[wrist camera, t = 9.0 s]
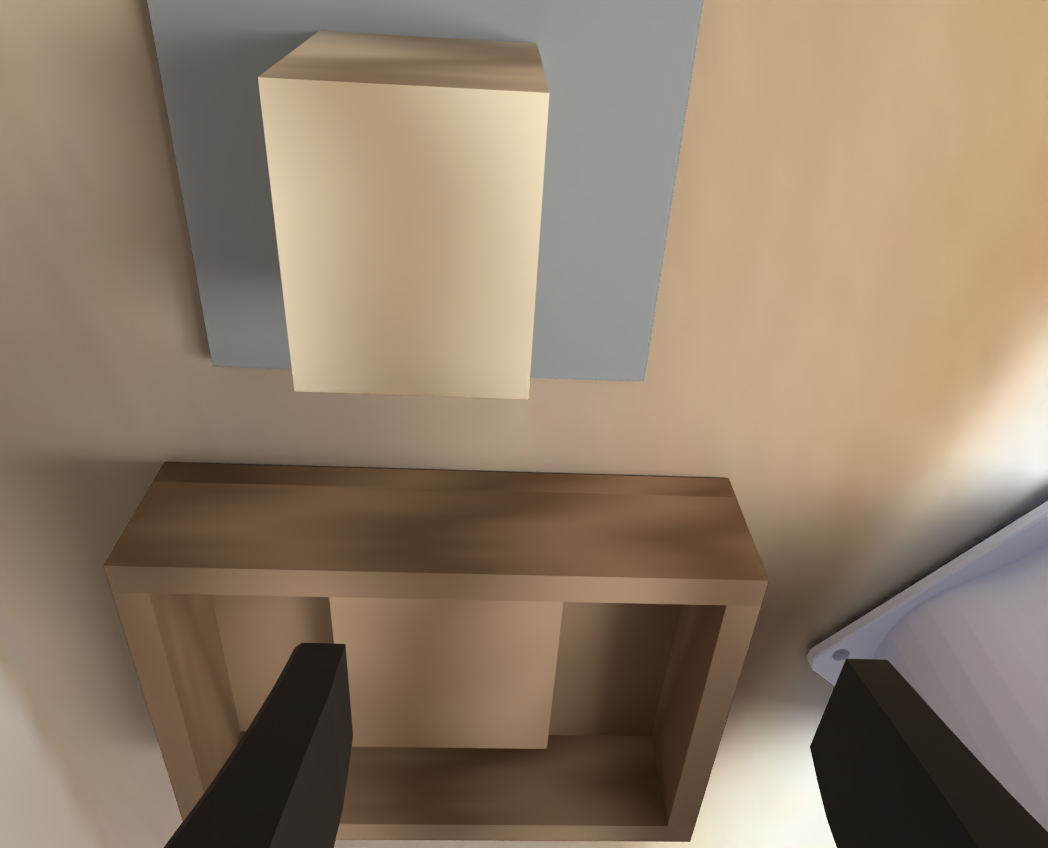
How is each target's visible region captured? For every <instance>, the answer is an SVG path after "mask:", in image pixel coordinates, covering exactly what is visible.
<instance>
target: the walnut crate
mask: <svg viewBox="0 0 1048 848" xmlns="http://www.w3.org/2000/svg"><path fill="white" fill-rule="evenodd" d="M104 569H105V572H106V576H107V579H108V582H109V585H110V588H111V592H112V595H113V598H114V601H115V605H116V608H117V611H118V614H119V617H120V621H121V624H122V627H123V630H124V633H125V637H126V640H127V643H128V646H129V650H130V653H131V656H132V659H133V662H134V666H135V669H136V672H137V675H138V678H139V682H140V685H141V688H142V691H143V695H144V698H145V701H146V704H147V707H148V711H149V714H150V717H151V720H152V723H153V727H154V730H155V733H156V736H157V740H158V743H159V746H160V749H161V752H162V756H163V759H164V762H165V765H166V768H167V772H168V775H169V778H170V781H171V785H172V788H173V791H174V794H175V797H176V801H177V804H178V807H179V810H180V813H181V817H182V820H183V821H184V820H185V818H186V817H187V816H188V814H189V813H190V812H191V810H192V809H193V808H194V806H195V805H196V804H197V802H198V801H199V800H200V798H201V797H202V795H203V794H204V793H205V791H206V790H207V789H208V787H209V786H210V784H211V783H212V781H213V780H214V779H215V777H216V776H217V774H218V773H219V771H220V770H221V768H222V767H223V765H224V764H225V762H226V761H227V759H228V758H229V756H230V755H231V753H232V752H233V750H234V749H235V747H236V746H237V744H238V743H239V741H240V740H241V738H242V737H243V735H244V734H245V732H246V731H247V729H248V728H249V726H250V724H251V723H252V721H253V720H254V718H255V716H256V715H257V713H258V712H259V710H260V708H261V707H262V705H263V703H264V702H265V700H266V698H267V697H268V695H269V693H270V692H271V690H272V688H273V687H274V685H275V683H276V681H277V680H278V678H279V676H280V674H281V672H282V671H283V669H284V667H285V665H286V663H287V661H288V660H289V658H290V656H291V654H292V652H293V650H294V648H295V647H297V646H298V645H299V644H301V643H334V644H346V656H347V668H348V680H349V692H350V704H351V717H352V729H353V740H352V748H351V755H350V762H349V770H348V777H347V784H346V791H345V798H344V804H343V811H342V815H341V819H340V823H339V827H338V832H337V836H336V840H498V841H671V842H690V840H691V837H692V834H693V830H694V827H695V824H696V820H697V817H698V814H699V811H700V807H701V804H702V801H703V797H704V794H705V791H706V787H707V784H708V781H709V777H710V774H711V771H712V767H713V764H714V761H715V757H716V754H717V751H718V747H719V744H720V741H721V737H722V734H723V731H724V727H725V724H726V721H727V717H728V714H729V711H730V707H731V704H732V701H733V697H734V694H735V691H736V687H737V684H738V681H739V678H740V674H741V671H742V668H743V664H744V661H745V658H746V654H747V651H748V648H749V644H750V641H751V638H752V634H753V631H754V628H755V624H756V621H757V618H758V614H759V611H760V608H761V604H762V601H763V598H764V594H765V591H766V588H767V584H768V581H769V580H768V578H767V575H766V573H765V570H764V568H763V565H762V562H761V560H760V557H759V555H758V552H757V550H756V547H755V545H754V542H753V539H752V537H751V534H750V532H749V529H748V527H747V524H746V522H745V519H744V516H743V514H742V511H741V509H740V506H739V504H738V501H737V499H736V496H735V493H734V491H733V488H732V486H731V483H730V481H729V479H728V478H693V477H658V476H623V475H589V474H554V473H519V472H484V471H449V470H415V469H380V468H345V467H310V466H276V465H241V464H206V463H171V462H164V464H163V466H162V468H161V469H160V471H159V473H158V474H157V476H156V478H155V479H154V481H153V483H152V484H151V486H150V488H149V490H148V491H147V493H146V495H145V496H144V498H143V500H142V501H141V503H140V505H139V506H138V508H137V510H136V512H135V513H134V515H133V517H132V518H131V520H130V522H129V523H128V525H127V527H126V528H125V530H124V532H123V534H122V535H121V537H120V539H119V540H118V542H117V544H116V545H115V547H114V549H113V550H112V552H111V554H110V556H109V557H108V559H107V561H106V562H105V564H104Z"/></svg>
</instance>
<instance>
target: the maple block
mask: <svg viewBox="0 0 1048 848" xmlns="http://www.w3.org/2000/svg"><path fill="white" fill-rule="evenodd" d="M258 83H259V92H260V100H261V109H262V117H263V126H264V135H265V143H266V152H267V160H268V169H269V178H270V186H271V195H272V203H273V212H274V220H275V229H276V238H277V246H278V255H279V263H280V272H281V281H282V289H283V298H284V306H285V315H286V324H287V332H288V341H289V349H290V358H291V367H292V375H293V384H294V391H303V392H332V393H361V394H390V395H419V396H448V397H478V398H507V399H529V385H530V371H531V356H532V341H533V327H534V312H535V298H536V283H537V269H538V254H539V239H540V225H541V210H542V196H543V181H544V166H545V152H546V137H547V123H548V108H549V89H548V85H547V81H546V77H545V73H544V69H543V65H542V61H541V57H540V53H539V49H538V45H537V43H524V42H507V41H489V40H472V39H454V38H437V37H419V36H401V35H384V34H366V33H349V32H331V31H319V32H317V33H316V34H315V35H313V36H312V37H311V38H309V39H308V40H307V41H305V42H304V43H303V44H301V45H300V46H299V47H297V48H296V49H295V50H293V51H292V52H291V53H289V54H288V55H287V56H285V57H284V58H283V59H281V60H280V61H279V62H277V63H276V64H275V65H273V66H272V67H271V68H269V69H268V70H267V71H265V72H264V73H263V74H261V75H260V76H259V77H258Z"/></svg>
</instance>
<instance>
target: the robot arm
mask: <svg viewBox="0 0 1048 848" xmlns="http://www.w3.org/2000/svg"><path fill="white" fill-rule="evenodd" d="M807 659H808V662H809V664H810V667H811V668H812V669H813V670H814V671H815V672H816V673H818V674H819V675H820V676H822V677H823V678H824V679H826V680H827V681H828V682H830V683H831V684H832V685H834V686H835V687H834V689H833V692H832V694H831V697H830V699H829V702H828V704H827V706H826V709H825V711H824V714H823V716H822V719H821V721H820V724H819V726H818V728H817V731H816V733H815V736H814V738H813V741H812V743H811V746H810V749H811V753H812V758H813V762H814V767H815V771H816V776H817V780H818V785H819V789H820V793H821V797H822V801H823V805H824V809H825V813H826V817H827V820H828V823H829V826H830V829H831V832H832V835H833V838H834V840H835V843H836V846H837V848H1048V501H1046V502H1045V503H1043V504H1041V505H1040V506H1038V507H1037V508H1035V509H1033V510H1032V511H1030V512H1029V513H1027V514H1025V515H1024V516H1022V517H1021V518H1019V519H1017V520H1016V521H1014V522H1013V523H1011V524H1009V525H1008V526H1006V527H1005V528H1003V529H1001V530H1000V531H998V532H997V533H995V534H993V535H992V536H990V537H989V538H987V539H985V540H984V541H982V542H981V543H979V544H977V545H976V546H974V547H973V548H971V549H969V550H968V551H966V552H965V553H963V554H961V555H960V556H958V557H957V558H955V559H953V560H952V561H950V562H949V563H947V564H945V565H944V566H942V567H941V568H939V569H937V570H936V571H934V572H933V573H931V574H929V575H928V576H926V577H925V578H923V579H921V580H920V581H918V582H917V583H915V584H913V585H912V586H910V587H909V588H907V589H905V590H904V591H902V592H901V593H899V594H897V595H896V596H894V597H893V598H891V599H889V600H888V601H886V602H885V603H883V604H881V605H880V606H878V607H877V608H875V609H873V610H872V611H870V612H869V613H867V614H865V615H864V616H862V617H861V618H859V619H857V620H856V621H854V622H853V623H851V624H849V625H848V626H846V627H845V628H843V629H841V630H840V631H838V632H837V633H835V634H833V635H832V636H830V637H829V638H827V639H825V640H824V641H822V642H821V643H819V644H817V645H816V646H814V647H813V648H812V649H811V650H810V651H809V653H808V655H807ZM352 740H353V729H352V717H351V704H350V692H349V680H348V668H347V656H346V644H334V643H301V644H299V645H298V646H297V647H295V648H294V650H293V652H292V654H291V656H290V658H289V660H288V661H287V663H286V665H285V667H284V669H283V671H282V672H281V674H280V676H279V678H278V680H277V681H276V683H275V685H274V687H273V688H272V690H271V692H270V693H269V695H268V697H267V698H266V700H265V702H264V703H263V705H262V707H261V708H260V710H259V712H258V713H257V715H256V716H255V718H254V720H253V721H252V723H251V724H250V726H249V728H248V729H247V731H246V732H245V734H244V735H243V737H242V738H241V740H240V741H239V743H238V744H237V746H236V747H235V749H234V750H233V752H232V753H231V755H230V756H229V758H228V759H227V761H226V762H225V764H224V765H223V767H222V768H221V770H220V771H219V773H218V774H217V776H216V777H215V779H214V780H213V781H212V783H211V784H210V786H209V787H208V789H207V790H206V791H205V793H204V794H203V795H202V797H201V798H200V800H199V801H198V802H197V804H196V805H195V806H194V808H193V809H192V810H191V812H190V813H189V814H188V816H187V817H186V818H185V820H184V821H183V822H182V824H181V825H180V826H179V828H178V829H177V830H176V832H175V833H174V834H173V836H172V837H171V838H170V840H169V841H168V843H167V844H166V845H165V847H164V848H334V844H335V840H336V836H337V832H338V827H339V823H340V819H341V815H342V811H343V804H344V798H345V791H346V784H347V777H348V770H349V762H350V755H351V748H352Z"/></svg>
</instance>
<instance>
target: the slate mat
mask: <svg viewBox="0 0 1048 848" xmlns="http://www.w3.org/2000/svg"><path fill="white" fill-rule="evenodd" d="M147 3H148V8H149V14H150V19H151V25H152V31H153V36H154V42H155V47H156V53H157V59H158V64H159V70H160V75H161V81H162V87H163V92H164V98H165V103H166V109H167V115H168V120H169V126H170V131H171V137H172V142H173V148H174V154H175V159H176V165H177V170H178V176H179V182H180V187H181V193H182V198H183V204H184V210H185V215H186V221H187V226H188V232H189V238H190V243H191V249H192V254H193V260H194V266H195V271H196V277H197V282H198V288H199V293H200V299H201V305H202V310H203V316H204V321H205V327H206V333H207V338H208V344H209V349H210V355H211V361H212V366H213V367H237V368H266V369H292V367H291V358H290V349H289V341H288V332H287V324H286V315H285V306H284V298H283V289H282V281H281V272H280V263H279V255H278V246H277V238H276V229H275V220H274V212H273V203H272V195H271V186H270V178H269V169H268V160H267V152H266V143H265V135H264V126H263V117H262V109H261V100H260V92H259V83H258V77H259V76H260V75H261V74H263V73H264V72H265V71H267V70H268V69H269V68H271V67H272V66H273V65H275V64H276V63H277V62H279V61H280V60H281V59H283V58H284V57H285V56H287V55H288V54H289V53H291V52H292V51H293V50H295V49H296V48H297V47H299V46H300V45H301V44H303V43H304V42H305V41H307V40H308V39H309V38H311V37H312V36H313V35H315V34H316V33H317V32H319V31H331V32H349V33H366V34H384V35H401V36H419V37H437V38H454V39H472V40H489V41H507V42H524V43H537V45H538V49H539V53H540V57H541V61H542V65H543V69H544V73H545V77H546V81H547V85H548V89H549V108H548V123H547V137H546V152H545V166H544V181H543V196H542V210H541V225H540V239H539V254H538V269H537V283H536V298H535V312H534V327H533V341H532V356H531V371H530V378H554V379H582V380H611V381H640V382H644V377H645V371H646V365H647V358H648V352H649V345H650V339H651V333H652V326H653V320H654V313H655V307H656V301H657V294H658V288H659V281H660V275H661V269H662V262H663V256H664V250H665V243H666V237H667V230H668V224H669V218H670V211H671V205H672V198H673V192H674V186H675V179H676V173H677V166H678V160H679V154H680V147H681V141H682V134H683V128H684V122H685V115H686V109H687V102H688V96H689V90H690V83H691V77H692V70H693V64H694V58H695V51H696V45H697V38H698V32H699V26H700V19H701V13H702V6H703V0H147Z"/></svg>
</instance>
